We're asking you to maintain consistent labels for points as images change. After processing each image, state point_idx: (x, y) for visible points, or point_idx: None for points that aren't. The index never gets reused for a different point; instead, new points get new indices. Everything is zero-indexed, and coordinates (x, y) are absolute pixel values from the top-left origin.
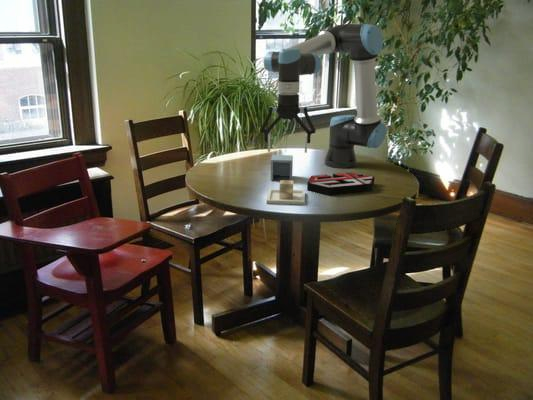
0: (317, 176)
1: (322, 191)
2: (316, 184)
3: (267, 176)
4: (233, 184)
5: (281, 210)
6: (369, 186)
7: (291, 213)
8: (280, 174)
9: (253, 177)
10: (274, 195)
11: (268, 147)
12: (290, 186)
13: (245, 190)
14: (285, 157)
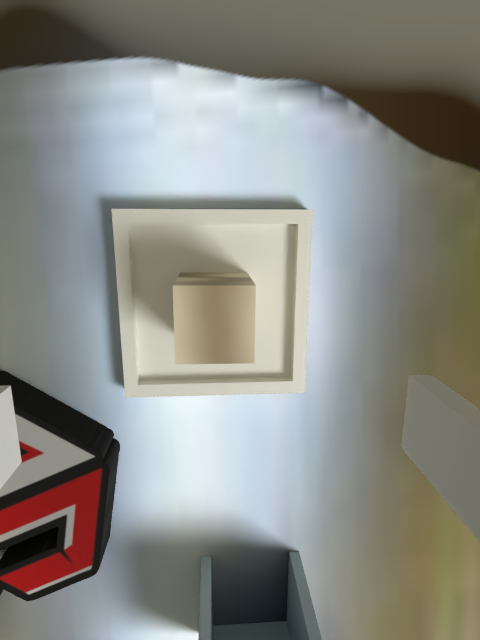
0: (64, 566)
1: (32, 396)
2: (57, 434)
3: (314, 606)
4: None
5: (229, 109)
6: None
7: (174, 62)
8: (257, 629)
9: (375, 584)
10: (273, 326)
11: (451, 394)
12: (189, 283)
13: None
14: None
